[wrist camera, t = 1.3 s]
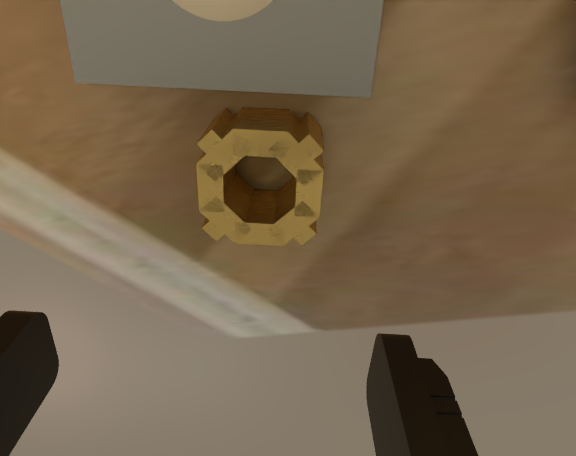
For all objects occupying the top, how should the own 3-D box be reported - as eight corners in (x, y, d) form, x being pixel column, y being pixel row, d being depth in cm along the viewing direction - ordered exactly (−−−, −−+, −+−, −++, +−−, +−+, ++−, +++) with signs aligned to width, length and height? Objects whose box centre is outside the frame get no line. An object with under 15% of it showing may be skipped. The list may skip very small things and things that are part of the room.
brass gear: (323, 111, 22) (327, 133, 19) (314, 211, 25) (316, 247, 21) (210, 105, 22) (193, 126, 19) (215, 206, 25) (201, 241, 21)
